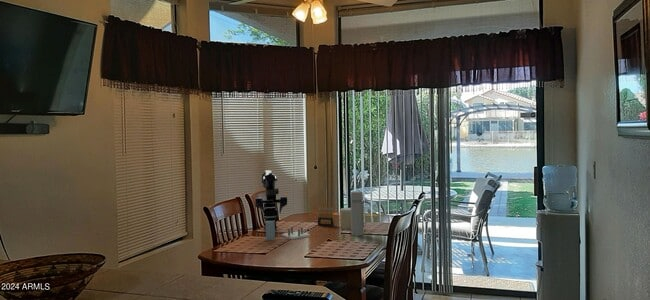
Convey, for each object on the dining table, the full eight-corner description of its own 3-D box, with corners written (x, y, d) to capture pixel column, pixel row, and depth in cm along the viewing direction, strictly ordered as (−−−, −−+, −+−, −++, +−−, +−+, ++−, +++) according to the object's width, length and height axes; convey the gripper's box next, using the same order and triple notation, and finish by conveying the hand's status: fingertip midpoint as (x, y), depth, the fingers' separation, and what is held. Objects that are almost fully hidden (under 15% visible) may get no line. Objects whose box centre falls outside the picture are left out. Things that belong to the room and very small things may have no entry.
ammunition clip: (334, 225, 309) (333, 207, 309) (333, 226, 307) (332, 207, 307) (318, 224, 313) (318, 206, 312) (317, 225, 311) (317, 206, 311)
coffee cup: (358, 227, 300) (357, 208, 299) (348, 230, 293) (348, 210, 293) (346, 226, 306) (346, 207, 306) (337, 228, 299) (336, 209, 299)
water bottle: (348, 235, 276) (347, 192, 275) (354, 233, 283) (353, 191, 282) (363, 237, 272) (362, 193, 271) (369, 234, 279) (368, 191, 278)
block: (266, 238, 275) (265, 221, 275) (274, 237, 276) (274, 220, 276) (266, 240, 270) (265, 222, 270) (275, 239, 271) (274, 222, 271)
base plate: (281, 236, 280) (281, 228, 280) (299, 233, 287) (299, 225, 287) (291, 239, 270) (291, 231, 270) (309, 236, 277) (309, 228, 277)
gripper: (254, 184, 283) (256, 206, 273) (286, 183, 286) (288, 205, 276) (254, 195, 291) (256, 217, 281) (285, 194, 295) (287, 215, 285)
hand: (272, 213), depth 281 cm, fingers open, 9 cm apart
